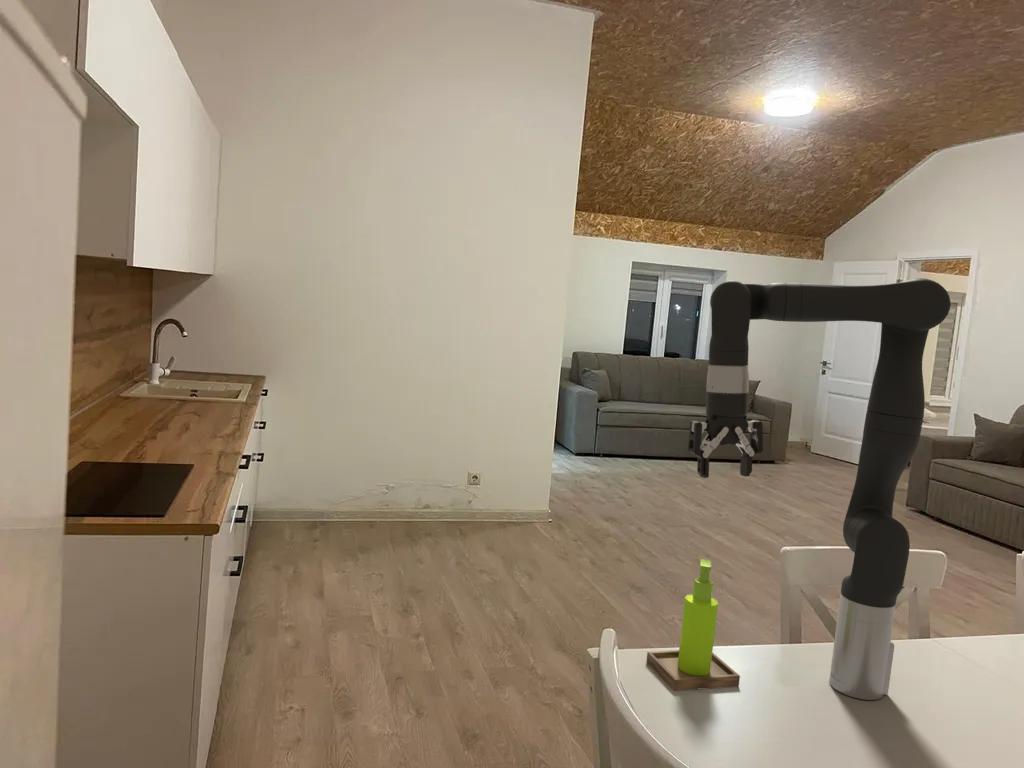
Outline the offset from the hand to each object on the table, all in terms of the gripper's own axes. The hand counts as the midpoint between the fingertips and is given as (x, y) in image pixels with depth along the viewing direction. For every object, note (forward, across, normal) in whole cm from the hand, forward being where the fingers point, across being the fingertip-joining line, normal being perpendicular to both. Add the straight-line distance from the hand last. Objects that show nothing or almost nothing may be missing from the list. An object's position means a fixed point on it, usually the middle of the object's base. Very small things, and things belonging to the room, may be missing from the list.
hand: (724, 476), depth 146 cm
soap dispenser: (+35, -6, -2) cm, 36 cm away
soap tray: (+36, -7, -2) cm, 37 cm away
